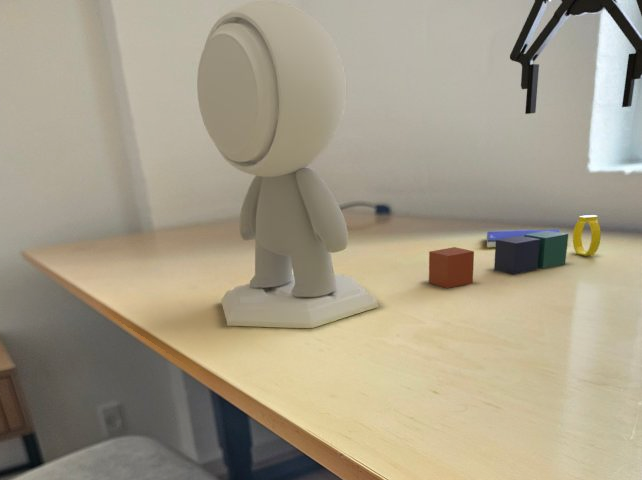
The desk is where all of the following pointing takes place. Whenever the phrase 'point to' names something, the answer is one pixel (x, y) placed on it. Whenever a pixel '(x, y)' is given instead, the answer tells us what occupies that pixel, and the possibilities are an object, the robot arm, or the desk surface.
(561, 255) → the block teal
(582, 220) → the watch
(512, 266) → the block navy
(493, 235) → the hard drive
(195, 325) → the desk surface
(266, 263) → the white toy figurine
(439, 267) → the block terracotta
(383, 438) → the desk surface
